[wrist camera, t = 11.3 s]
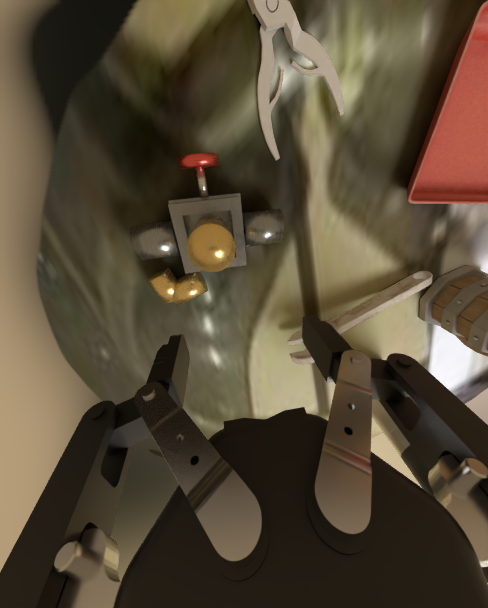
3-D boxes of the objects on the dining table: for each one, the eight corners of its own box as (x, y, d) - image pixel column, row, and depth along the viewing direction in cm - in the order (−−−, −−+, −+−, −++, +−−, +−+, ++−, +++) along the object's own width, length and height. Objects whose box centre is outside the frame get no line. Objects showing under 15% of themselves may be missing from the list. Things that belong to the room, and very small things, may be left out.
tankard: (419, 284, 40) (519, 331, 27) (483, 255, 38) (621, 289, 26) (417, 349, 50) (489, 405, 37) (468, 328, 49) (561, 378, 36)
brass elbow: (207, 285, 33) (189, 255, 30) (207, 295, 30) (186, 263, 27) (172, 302, 34) (150, 275, 31) (168, 314, 31) (144, 285, 28)
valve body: (273, 152, 26) (287, 145, 21) (275, 253, 32) (285, 263, 28) (119, 167, 24) (98, 162, 20) (153, 269, 31) (144, 283, 26)
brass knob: (226, 212, 26) (232, 220, 19) (231, 249, 29) (238, 268, 22) (189, 216, 26) (181, 227, 19) (197, 254, 28) (193, 274, 22)
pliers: (276, 160, 25) (204, -21, 18) (273, 162, 26) (204, -6, 19) (350, 109, 24) (305, -112, 16) (342, 113, 25) (297, -88, 18)
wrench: (407, 272, 41) (280, 342, 41) (407, 264, 40) (277, 336, 40) (452, 286, 34) (299, 371, 34) (453, 277, 34) (296, 364, 33)
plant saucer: (390, 202, 31) (408, 203, 28) (451, 19, 22) (486, -5, 19) (486, 203, 34) (512, 204, 31) (577, 38, 25) (625, 18, 22)
